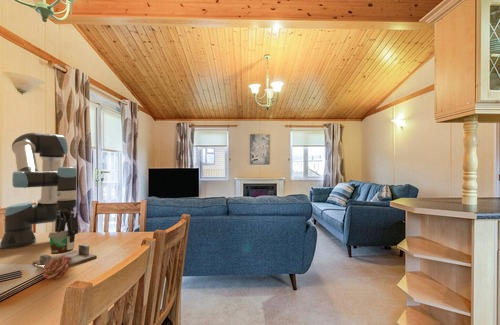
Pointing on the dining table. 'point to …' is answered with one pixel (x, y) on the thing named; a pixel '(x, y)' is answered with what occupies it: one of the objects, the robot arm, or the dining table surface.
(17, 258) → the dining table surface
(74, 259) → the base
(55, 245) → the food container
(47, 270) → the flower
